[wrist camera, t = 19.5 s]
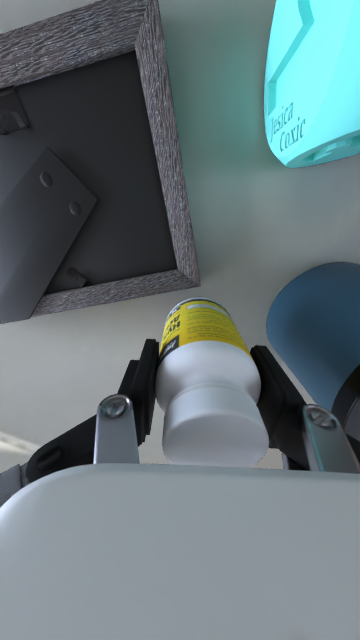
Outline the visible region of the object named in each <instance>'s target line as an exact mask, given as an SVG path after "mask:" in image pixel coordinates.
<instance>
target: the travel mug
mask: <svg viewBox="0 0 360 640" xmlns="http://www.w3.org/2000/svg"><path fill="white" fill-rule="evenodd" d="M266 329H267V336H268V339H269V341H270V344H271V345H272V347H273V348H274V349H275V351H276V352H277V353H278V355H279V356H280V357H281V358H282V360H283V361H284V362H285V364H286V365H287V366H288V368H289V369H290V370H291V371H292V373H293V374H294V375H295V377H296V378H297V379H298V381H299V382H300V383H301V384H302V386H303V387H304V388H305V390H306V391H307V392H308V394H309V395H310V396H311V397H312V399H313V400H314V401H315V403H316V404H317V405H318V406H321V407H323V408H325V409H327V410H328V411H330V412H331V413H332V414H333V415H334V416H335V417H336V418H337V419H338V420H339V422H340V424H341V426H342V428H343V430H344V432H345V433H346V434H348V435H350V436H351V437H353V438H355V439H357V440H358V441H360V265H359V264H354V263H348V262H335V263H328V264H324V265H320V266H318V267H315V268H312V269H310V270H308V271H306V272H304V273H303V274H301V275H299V276H298V277H296V278H295V279H294V280H292V281H291V282H290V283H289V284H288V285H287V286H286V287H285V288H284V289H283V290H282V291H281V292H280V293H279V295H278V296H277V298H276V299H275V301H274V302H273V304H272V306H271V308H270V311H269V314H268V318H267V325H266Z"/></svg>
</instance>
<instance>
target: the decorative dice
mask: <svg viewBox="0 0 360 640" xmlns="http://www.w3.org/2000/svg"><path fill="white" fill-rule="evenodd" d="M264 120H265V130H266V136H267V140H268V144H269V146H270V148H271V150H272V152H273V153H274V155H275V156H276V157H277V158H278V159H279V160H280V161H281V162H282V163H283V164H284V165H285V166H286V167H288V168H299V167H306V166H312V165H317V164H322V163H326V162H330V161H334V160H338V159H342V158H346V157H349V156H353V155H357V154H360V0H277V2H276V6H275V11H274V16H273V22H272V27H271V33H270V40H269V46H268V54H267V62H266V72H265V86H264Z"/></svg>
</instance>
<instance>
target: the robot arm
mask: <svg viewBox="0 0 360 640" xmlns="http://www.w3.org/2000/svg"><path fill="white" fill-rule="evenodd" d="M250 355H251V357H252V359H253V361H254V363H255V365H256V367H257V369H258V372H259V375H260V379H261V393H260V397H259V400H258V402H257V404H256V406H257V408H258V410H259V412H260V415H261V418H262V420H263V423H264V425H265V428H266V430H267V433H268V437H269V446H268V447H269V448H277V449H279V450H280V451H281V452H282V461H283V468H284V470H281V469H261V468H240V467H217V466H193V465H169V464H140V462H139V454H138V446H140V445H141V444H142V442H145V437H146V435H150V430H151V424H152V417H153V411H154V404H155V398H156V396H155V377H156V371H157V365H158V360H159V342H156V339H146V341H145V344H144V348H143V351H142V354H141V357H140V360H130V362H129V365H128V368H127V370H126V373H125V375H124V378H123V380H122V383H121V385H120V388H119V391H118V393H117V394H114V395H111V396H108V397H107V398H105V399H104V400H103V401H102V402H101V403H100V404H99V406H98V409H97V414H96V415H94V416H93V417H91V418H89V419H88V420H86V421H84V422H83V423H81V424H79V425H77V426H76V427H74V428H72V429H71V430H69V431H67V432H65V433H64V434H62V435H60V436H59V437H57V438H55V439H54V440H52V441H50V442H48V443H47V444H45V445H44V446H42V447H41V448H40V449H38V450H37V451H36V452H35V453H34V454H33V455H32V457H31V458H30V460H29V461H28V462H27V463H25V464H24V465H22V466H20V465H19V464H18V465H16V466H14V467H12V468H10V469H8V470H7V471H5V472H3V473H1V474H0V640H360V441H358V440H357V439H355V438H353V437H351V436H350V435H348V434H346V433H345V432H344V430H343V428H342V426H341V424H340V422H339V420H338V419H337V418H336V417H335V416H334V415H333V414H332V413H331V412H330V411H328V410H327V409H325V408H323V407H321V406H318V405H314V404H306V402H305V401H304V400H303V397H302V396H301V395H300V393H299V392H298V390H297V389H296V388H295V386H294V385H293V383H292V382H291V381H290V379H289V378H288V376H287V375H286V374H285V372H284V371H283V369H282V368H281V367H280V365H279V364H278V362H277V361H276V360H275V358H274V357H273V355H272V354H271V353H270V351H269V350H268V348H267V347H266V346H259V345H256V346H254V348H253V347H252V348H251V351H250Z"/></svg>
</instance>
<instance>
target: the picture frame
mask: <svg viewBox="0 0 360 640" xmlns="http://www.w3.org/2000/svg"><path fill="white" fill-rule="evenodd" d="M198 286H200V279H199V273H198V266H197V259H196V252H195V246H194V239H193V232H192V226H191V219H190V212H189V206H188V199H187V192H186V185H185V179H184V172H183V165H182V159H181V152H180V145H179V138H178V132H177V125H176V118H175V112H174V105H173V98H172V91H171V85H170V78H169V71H168V65H167V58H166V51H165V45H164V38H163V31H162V24H161V18H160V11H159V4H158V0H102V1H99V2H96V3H93V4H90V5H87V6H84V7H81V8H78V9H75V10H72V11H69V12H66V13H63V14H60V15H57V16H54V17H51V18H48V19H45V20H42V21H39V22H36V23H33V24H30V25H27V26H24V27H21V28H18V29H15V30H12V31H9V32H6V33H3V34H0V324H4V323H9V322H15V321H20V320H26V319H29V318H31V317H35V316H40V315H46V314H51V313H57V312H62V311H68V310H73V309H79V308H84V307H90V306H95V305H100V304H106V303H111V302H117V301H122V300H128V299H133V298H139V297H144V296H149V295H155V294H160V293H166V292H171V291H177V290H182V289H188V288H193V287H198Z"/></svg>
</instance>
